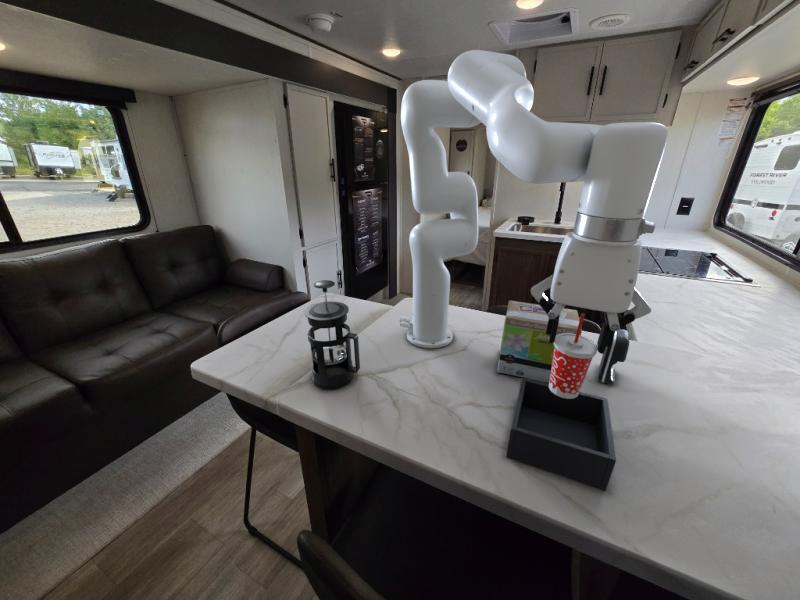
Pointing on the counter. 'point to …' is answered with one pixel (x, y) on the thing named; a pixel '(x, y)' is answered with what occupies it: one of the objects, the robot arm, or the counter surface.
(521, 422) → the black open box
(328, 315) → the french press
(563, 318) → the tea box
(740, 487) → the counter surface
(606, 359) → the battery charger
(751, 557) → the counter surface
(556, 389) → the beverage cup
